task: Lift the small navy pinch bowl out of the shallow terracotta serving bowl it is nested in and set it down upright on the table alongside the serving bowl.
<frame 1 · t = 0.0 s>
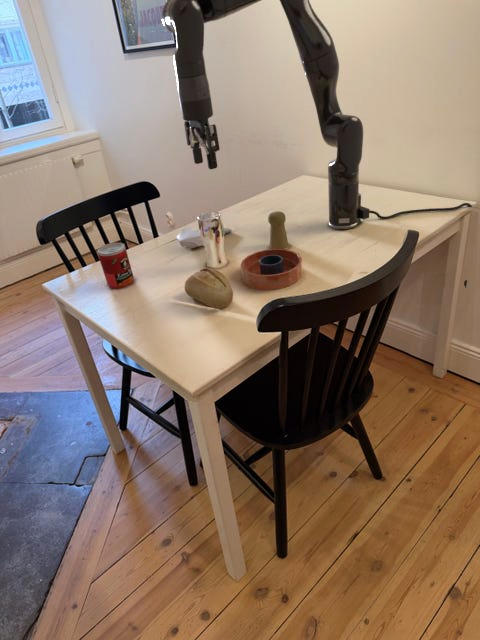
hand: (205, 165, 120), 29 cm above the table, tool pointing down, fingers open, 8 cm apart
bread roll: (210, 300, 120), on the table
serving bowl: (272, 276, 127), on the table
canned food: (121, 283, 135), on the table
pinch bowl: (272, 275, 127), resting on serving bowl
beer glass: (217, 264, 138), on the table
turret: (205, 241, 154), on the table
cork: (279, 247, 143), on the table
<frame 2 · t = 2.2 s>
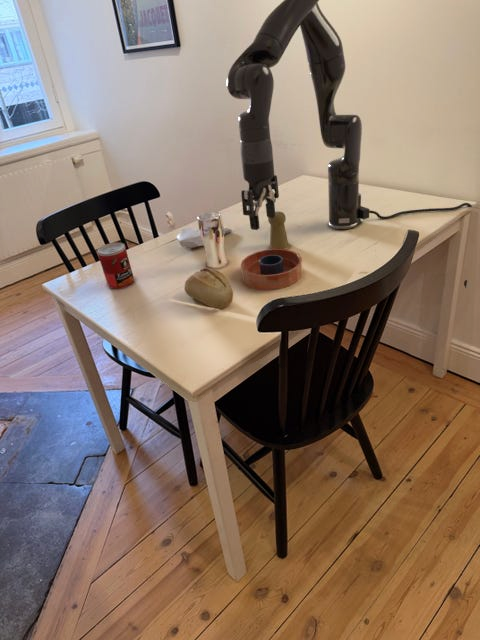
hand: (263, 223, 119), 15 cm above the table, tool pointing down, fingers open, 8 cm apart
nothing on the table moved.
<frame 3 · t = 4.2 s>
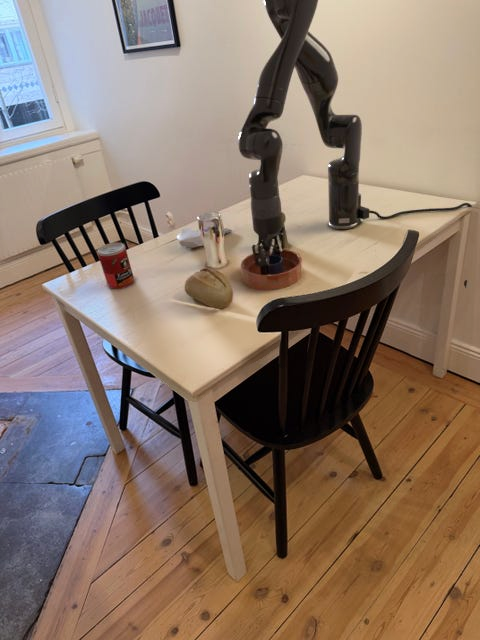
hand: (272, 271, 126), 2 cm above the table, tool pointing down, fingers closed on pinch bowl, 6 cm apart
pinch bowl: (272, 275, 127), point 1 cm above the table, touching gripper, serving bowl
everything else where it was.
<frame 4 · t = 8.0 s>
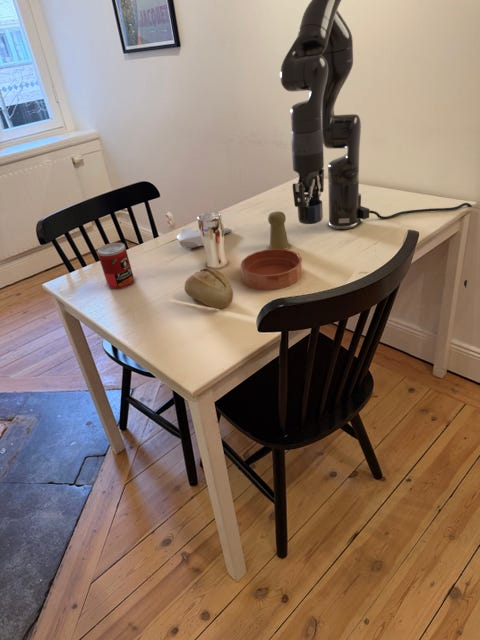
hand: (310, 215, 121), 15 cm above the table, tool pointing down, fingers closed on pinch bowl, 6 cm apart
pinch bowl: (310, 219, 122), point 14 cm above the table, touching gripper
everything else where it was.
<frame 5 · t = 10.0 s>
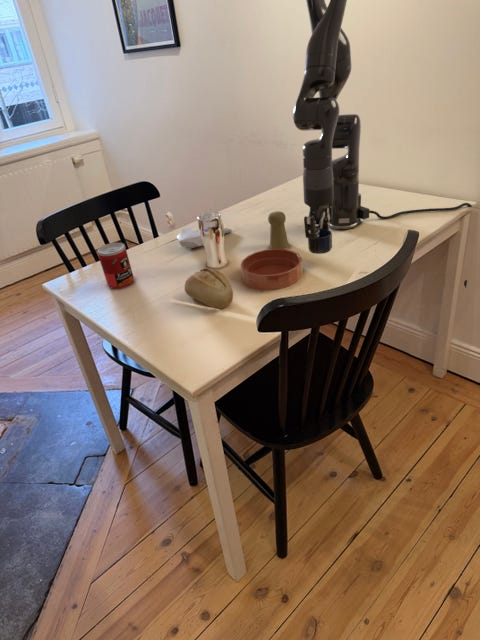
hand: (320, 245, 126), 6 cm above the table, tool pointing down, fingers closed on pinch bowl, 6 cm apart
pinch bowl: (320, 249, 127), point 5 cm above the table, touching gripper
everything else where it was.
when the fingers open (1 cm above the table, at t = 11.7 s): pinch bowl stays where it is, on the table.
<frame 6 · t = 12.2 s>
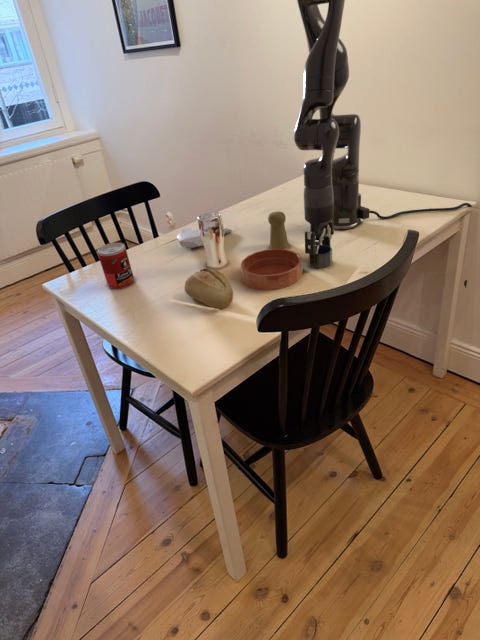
hand: (320, 258, 129), 2 cm above the table, tool pointing down, fingers open, 8 cm apart
pinch bowl: (320, 264, 129), on the table
everything else where it was.
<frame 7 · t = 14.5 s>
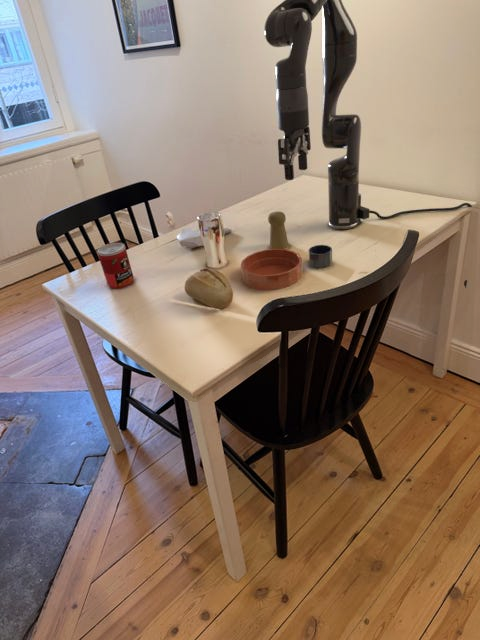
hand: (296, 174, 122), 24 cm above the table, tool pointing down, fingers open, 8 cm apart
nothing on the table moved.
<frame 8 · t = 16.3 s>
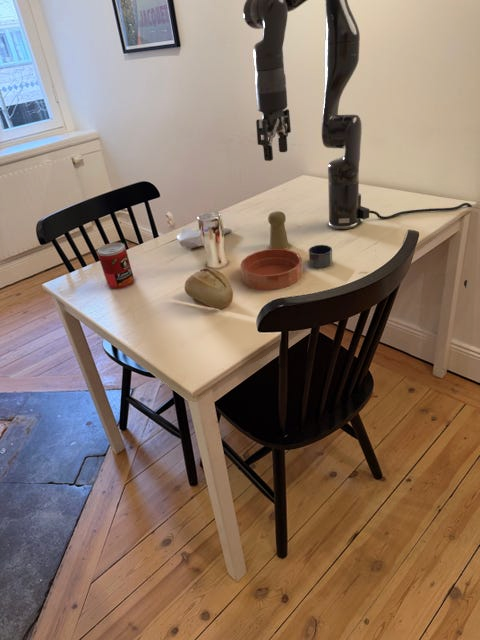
hand: (276, 156, 124), 28 cm above the table, tool pointing down, fingers open, 8 cm apart
nothing on the table moved.
at the end: pinch bowl inside the target area (0.1 cm from its centre), on the table; pinch bowl tilted 0°; pinch bowl touching table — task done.
